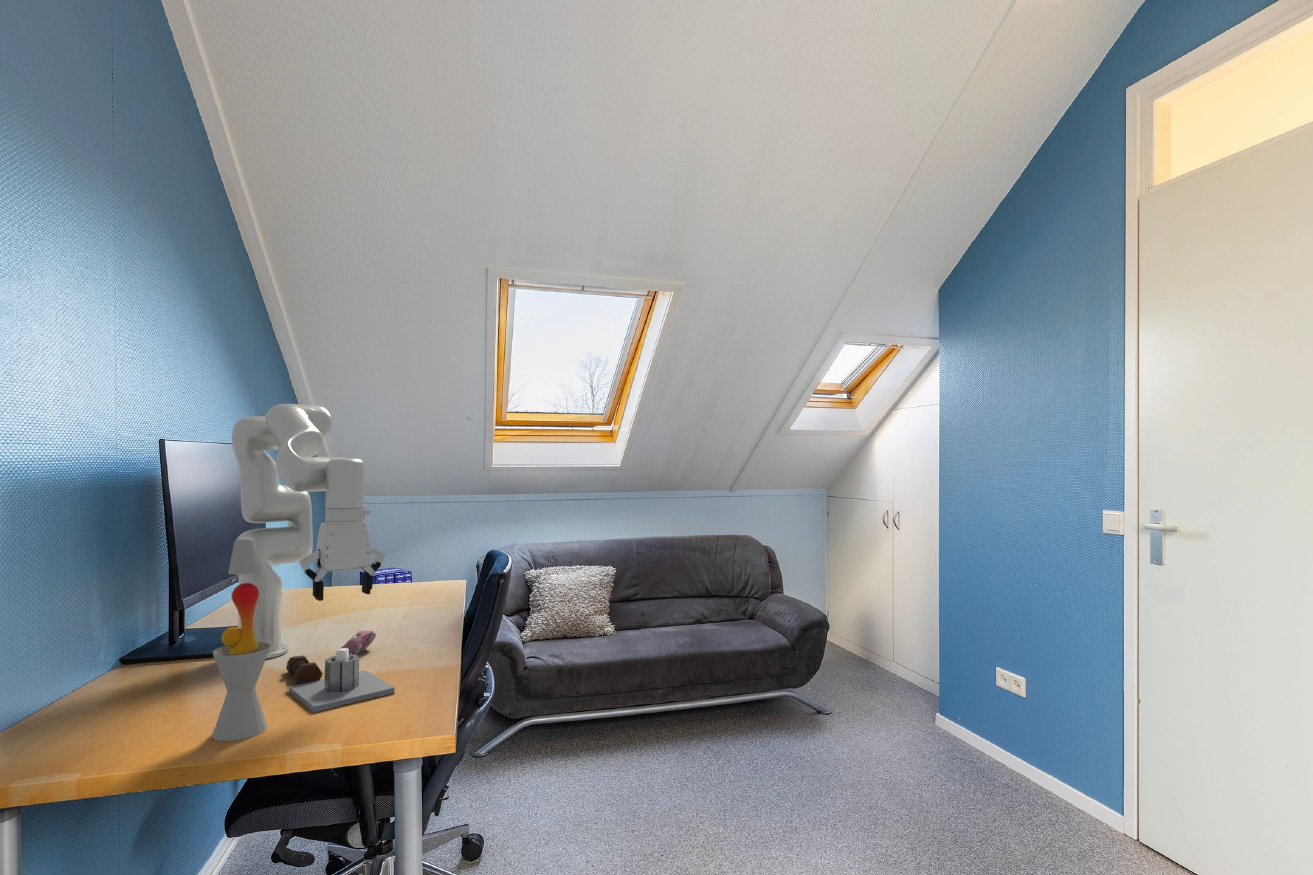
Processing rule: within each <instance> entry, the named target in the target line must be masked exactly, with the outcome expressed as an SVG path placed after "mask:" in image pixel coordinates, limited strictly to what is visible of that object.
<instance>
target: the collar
mask: <svg viewBox="0 0 1313 875" xmlns="http://www.w3.org/2000/svg"><path fill="white" fill-rule="evenodd" d="M359 671H360V655H358V654H357V655H354V654H349V656H348V660H347V661H342V662H340V661H336V655H332V656H329V657H328V658H326V659H325V660H324V679H325V690H326V691H328V692H344V691H348V690H352V689H355V688H356V687H357V686H359Z"/></svg>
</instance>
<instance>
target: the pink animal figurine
mask: <svg viewBox="0 0 1313 875" xmlns="http://www.w3.org/2000/svg"><path fill="white" fill-rule="evenodd" d="M376 636H377V634H376V632H374V631H372V630H369V629H364V630H360V631H358V632H357V633H356V634H354V635H353V636H352V637H351V638H350V639H348V640H347V642H346V643H345V644H343V645H342V646H341V647H340V648H339V649H342V648H347V649H349V654H354V655H357V656H358V654H359V653H364V652H366V650H367V649H368V647H369V646H370V645H371V644H372V643H373V642H374V640H375V639H376Z"/></svg>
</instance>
